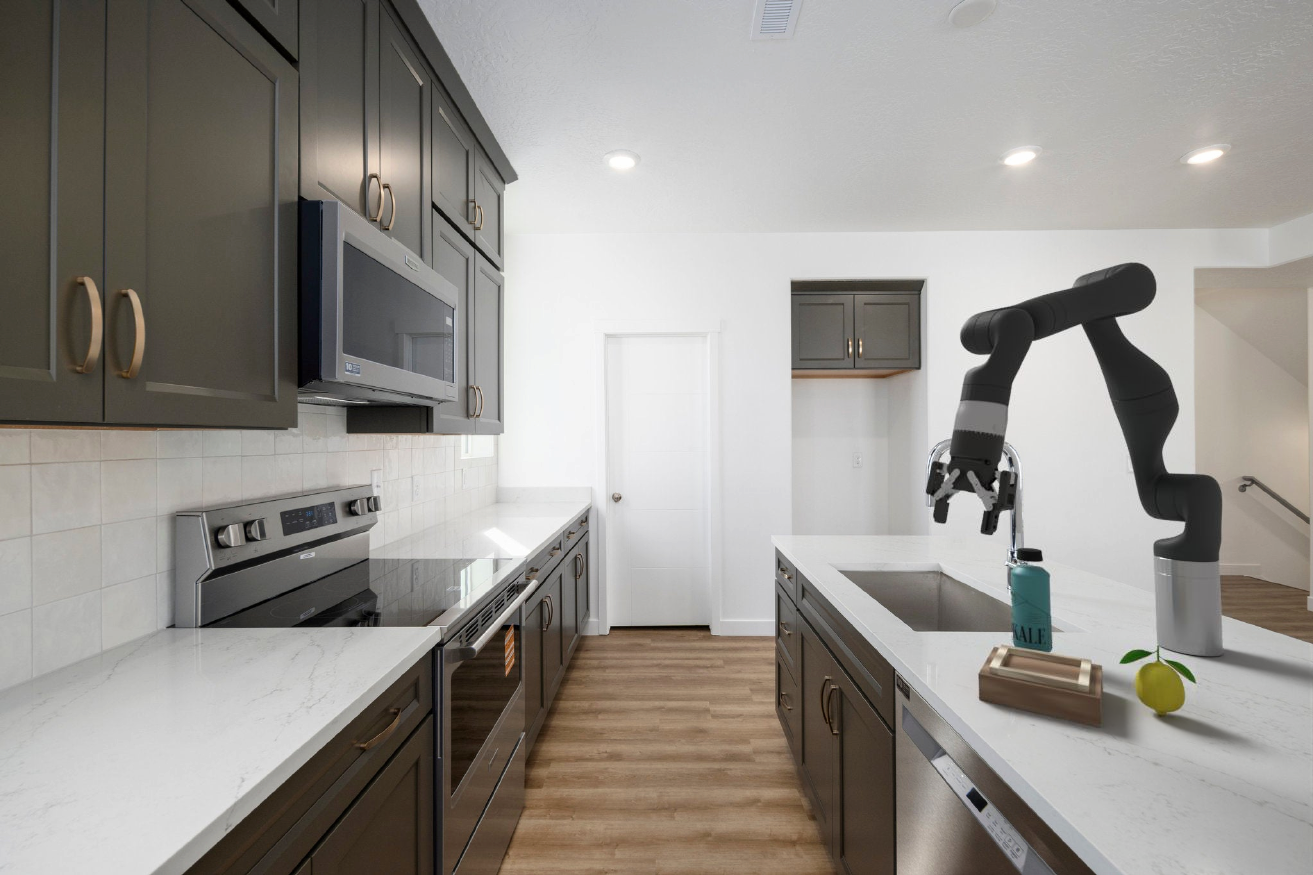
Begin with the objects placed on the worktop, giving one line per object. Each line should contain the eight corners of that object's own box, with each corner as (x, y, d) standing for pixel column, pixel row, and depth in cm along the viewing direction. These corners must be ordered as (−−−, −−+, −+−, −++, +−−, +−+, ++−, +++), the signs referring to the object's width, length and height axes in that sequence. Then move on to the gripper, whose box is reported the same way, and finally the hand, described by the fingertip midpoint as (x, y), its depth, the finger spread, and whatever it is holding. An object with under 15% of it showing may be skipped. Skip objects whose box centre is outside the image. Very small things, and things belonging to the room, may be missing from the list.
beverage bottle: (1041, 649, 110) (1037, 545, 110) (1062, 662, 103) (1058, 551, 104) (1005, 649, 110) (1001, 545, 111) (1023, 662, 104) (1020, 551, 104)
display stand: (994, 669, 101) (994, 640, 101) (1103, 690, 91) (1101, 659, 91) (979, 699, 89) (978, 667, 89) (1101, 727, 80) (1099, 691, 80)
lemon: (1120, 709, 85) (1118, 641, 85) (1143, 701, 87) (1141, 635, 87) (1176, 729, 79) (1173, 656, 79) (1199, 720, 81) (1196, 649, 81)
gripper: (1037, 438, 89) (1019, 540, 89) (955, 431, 102) (940, 521, 102) (1006, 431, 86) (987, 537, 86) (926, 425, 99) (910, 517, 99)
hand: (962, 528), depth 94 cm, fingers open, 8 cm apart
